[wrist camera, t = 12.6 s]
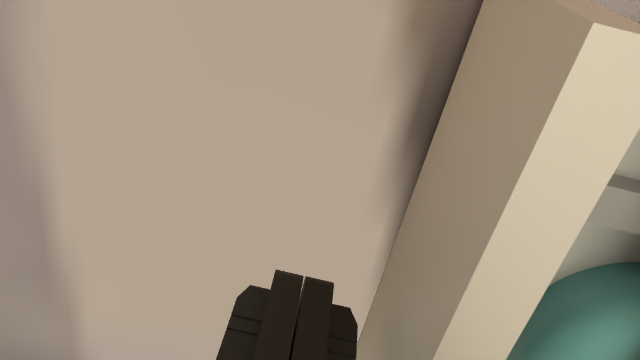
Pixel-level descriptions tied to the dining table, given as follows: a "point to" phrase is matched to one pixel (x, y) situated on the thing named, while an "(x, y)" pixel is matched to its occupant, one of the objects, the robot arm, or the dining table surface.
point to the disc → (586, 317)
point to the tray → (516, 182)
